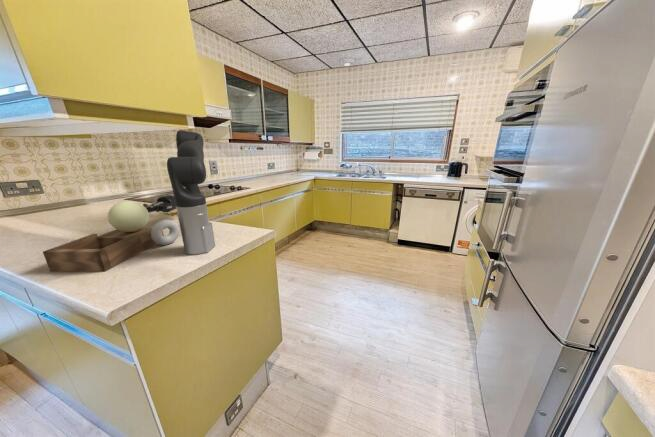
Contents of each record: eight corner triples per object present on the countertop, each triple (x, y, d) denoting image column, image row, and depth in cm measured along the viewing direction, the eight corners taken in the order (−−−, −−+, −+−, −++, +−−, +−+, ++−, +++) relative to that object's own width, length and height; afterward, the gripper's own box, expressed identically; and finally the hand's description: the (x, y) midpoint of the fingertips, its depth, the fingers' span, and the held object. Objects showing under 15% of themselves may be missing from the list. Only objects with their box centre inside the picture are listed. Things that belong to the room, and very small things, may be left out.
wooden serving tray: (164, 239, 94) (161, 224, 92) (105, 271, 69) (99, 251, 67) (123, 239, 94) (119, 224, 92) (50, 271, 69) (42, 251, 67)
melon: (159, 226, 95) (153, 197, 91) (136, 236, 83) (127, 204, 80) (130, 226, 95) (123, 197, 91) (103, 236, 83) (93, 204, 80)
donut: (157, 249, 84) (151, 224, 81) (151, 248, 86) (145, 222, 83) (183, 240, 93) (179, 217, 90) (178, 239, 94) (173, 216, 91)
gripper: (155, 194, 109) (123, 202, 92) (182, 194, 108) (156, 202, 92) (158, 210, 111) (128, 220, 94) (185, 210, 111) (160, 220, 94)
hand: (142, 211), depth 93 cm, fingers closed
